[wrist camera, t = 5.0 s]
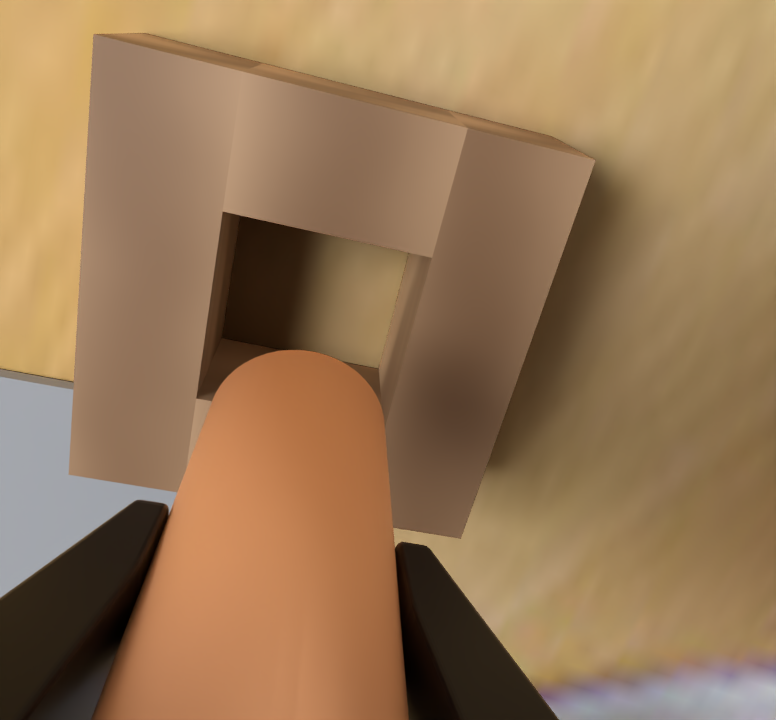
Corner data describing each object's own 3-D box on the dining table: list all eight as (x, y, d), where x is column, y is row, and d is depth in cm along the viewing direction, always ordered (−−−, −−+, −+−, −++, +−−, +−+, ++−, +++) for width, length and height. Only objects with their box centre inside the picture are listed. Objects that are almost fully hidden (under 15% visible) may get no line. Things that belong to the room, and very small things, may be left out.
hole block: (551, 136, 17) (595, 160, 14) (444, 463, 22) (460, 538, 18) (144, 33, 16) (93, 33, 13) (113, 404, 20) (68, 474, 17)
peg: (403, 369, 11) (591, 1605, 2) (363, 513, 13) (389, 1697, 4) (221, 333, 11) (-362, 1670, 2) (198, 486, 12) (-234, 1751, 3)
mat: (320, 427, 21) (320, 433, 20) (270, 642, 24) (269, 652, 24) (-111, 349, 19) (-120, 355, 19) (-95, 593, 23) (-102, 602, 22)
